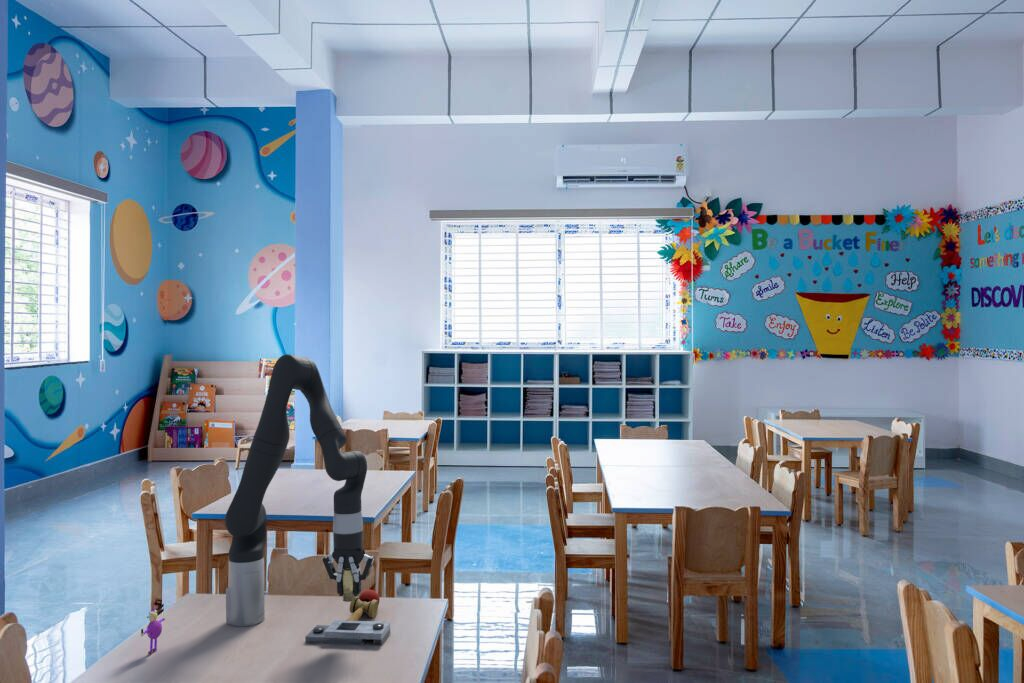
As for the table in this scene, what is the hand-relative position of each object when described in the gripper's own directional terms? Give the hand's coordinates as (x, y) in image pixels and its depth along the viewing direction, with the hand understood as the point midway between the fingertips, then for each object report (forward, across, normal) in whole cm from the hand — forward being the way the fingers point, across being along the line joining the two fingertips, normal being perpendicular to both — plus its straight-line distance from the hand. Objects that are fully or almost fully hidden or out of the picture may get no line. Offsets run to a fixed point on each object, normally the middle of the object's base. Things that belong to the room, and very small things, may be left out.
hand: (349, 594), depth 199 cm
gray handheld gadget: (+11, 0, 0) cm, 11 cm away
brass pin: (+1, 0, 0) cm, 1 cm away
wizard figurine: (+11, -46, -14) cm, 49 cm away
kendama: (+11, -1, +13) cm, 18 cm away
